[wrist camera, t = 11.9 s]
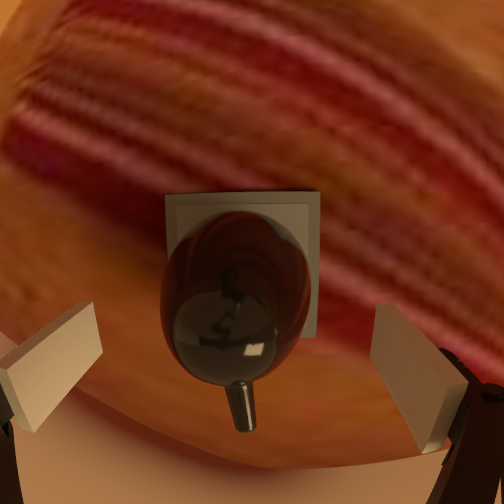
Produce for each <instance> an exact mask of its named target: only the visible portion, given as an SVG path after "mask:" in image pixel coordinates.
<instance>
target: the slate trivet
mask: <svg viewBox="0 0 504 504" xmlns="http://www.w3.org/2000/svg"><path fill="white" fill-rule="evenodd" d="M230 210H248V211H254V212H258V213H262V214H264V215H267V216H269V217H271V218H273V219H275V220H277V221H278V222H280V223H281V224H282V225H284V226H285V227H286V228H287V229H288V230H289V231H290V232H291V233H292V234H293V235H294V236H295V237H296V239H297V240H298V242H299V243H300V245H301V247H302V248H303V250H304V253H305V255H306V257H307V260H308V264H309V268H310V274H311V300H310V307H309V312H308V316H307V319H306V322H305V325H304V328H303V330H302V333H301V335H300V337H299V338H312V337H316V326H317V307H318V285H319V252H320V192H223V193H195V194H173V195H165V213H166V234H167V252H168V261H169V258H170V256H171V254H172V252H173V251H174V249H175V247H176V245H177V244H178V242H179V241H180V240H181V238H182V237H183V236H184V235H185V234H186V233H187V232H188V231H189V230H190V229H191V228H192V227H193V226H194V225H196V224H197V223H198V222H200V221H202V220H203V219H205V218H207V217H209V216H211V215H214V214H217V213H220V212H224V211H230Z"/></svg>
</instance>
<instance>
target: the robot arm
mask: <svg viewBox="0 0 504 504" xmlns="http://www.w3.org/2000/svg"><path fill="white" fill-rule="evenodd" d="M102 353H103V351H102V346H101V342H100V337H99V332H98V327H97V322H96V317H95V312H94V306H93V302H84V301H80V302H78V303H77V304H75V305H74V306H73V307H71V308H70V309H68V310H67V311H66V312H64V313H63V314H61V315H60V316H59V317H57V318H56V319H54V320H53V321H52V322H50V323H49V324H47V325H46V326H45V327H43V328H42V329H41V330H39V331H38V332H37V333H35V334H34V335H33V336H31V337H30V338H28V339H27V340H26V341H24V342H23V343H22V344H20V345H19V346H18V347H17V348H16V349H14V350H13V351H11V352H10V353H9V354H7V355H6V356H5V357H3V358H2V359H1V360H0V504H24V503H23V498H22V493H21V488H20V482H19V476H18V469H17V462H16V455H15V446H14V434H13V427H12V424H11V422H10V419H11V418H12V417H13V416H15V418H16V420H17V422H18V424H19V426H20V427H21V428H23V429H26V430H28V431H30V432H33V433H34V432H35V431H36V430H37V428H39V426H40V425H41V424H42V423H43V421H44V420H45V419H46V418H47V417H48V415H49V414H50V413H51V412H52V411H53V409H54V408H55V407H56V406H57V405H58V404H59V402H60V401H61V400H62V399H63V398H64V396H65V395H66V394H67V393H68V392H69V391H70V389H71V388H72V387H73V386H74V385H75V384H76V382H77V381H78V380H79V379H80V378H81V377H82V376H83V374H84V373H85V372H86V371H87V370H88V369H89V368H90V366H91V365H92V364H93V363H94V362H95V361H96V360H97V359H98V357H99V356H100V355H101V354H102ZM370 359H371V360H372V362H373V364H374V366H375V367H376V369H377V371H378V373H379V375H380V376H381V378H382V380H383V382H384V383H385V385H386V387H387V389H388V391H389V393H390V394H391V396H392V398H393V400H394V402H395V404H396V405H397V407H398V409H399V411H400V413H401V415H402V417H403V419H404V420H405V422H406V424H407V426H408V428H409V430H410V432H411V434H412V436H413V438H414V439H415V441H416V443H417V445H418V447H419V449H420V451H421V453H422V454H424V453H427V452H431V451H435V450H439V449H442V446H443V444H444V442H445V440H446V438H447V436H448V437H449V439H450V440H451V442H452V445H451V447H450V449H449V451H448V453H447V455H446V457H445V459H444V461H443V463H442V465H443V467H442V469H441V472H440V474H439V476H438V479H437V481H436V483H435V486H434V488H433V490H432V492H431V494H430V497H429V499H428V501H427V503H426V504H494V502H495V498H496V494H497V490H498V486H499V481H500V478H501V497H502V504H504V388H503V387H502V386H499V385H496V384H491V383H486V384H482V383H481V381H480V380H479V379H478V378H477V377H476V376H475V375H474V374H473V373H472V372H471V371H470V370H469V369H468V368H467V367H465V365H464V364H463V363H462V362H460V360H459V359H458V358H457V357H456V356H455V355H454V354H453V353H452V352H450V351H448V350H446V349H444V348H439V349H438V348H437V347H436V346H435V345H434V344H433V343H432V342H431V341H430V340H429V339H428V338H427V337H426V336H425V335H424V334H423V333H422V332H421V331H420V330H419V329H418V328H417V327H416V326H415V325H414V324H413V323H412V322H411V321H410V320H409V319H408V318H407V317H406V316H405V315H404V314H403V313H402V312H401V311H400V310H399V309H398V308H397V307H396V306H395V305H394V304H393V303H392V302H390V303H377V306H376V315H375V323H374V330H373V337H372V344H371V351H370Z"/></svg>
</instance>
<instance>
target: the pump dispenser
mask: <svg viewBox="0 0 504 504" xmlns="http://www.w3.org/2000/svg"><path fill="white" fill-rule="evenodd" d="M310 300H311V274H310V268H309V264H308V260H307V257H306V255H305V253H304V250H303V248H302V247H301V245H300V243H299V242H298V240H297V239H296V237H295V236H294V235H293V234H292V233H291V232H290V231H289V230H288V229H287V228H286V227H285V226H284V225H282V224H281V223H280V222H278V221H277V220H275V219H273V218H271V217H269V216H267V215H264V214H262V213H258V212H254V211H248V210H230V211H224V212H220V213H217V214H214V215H211V216H209V217H207V218H205V219H203V220H202V221H200V222H198V223H197V224H196V225H194V226H193V227H192V228H191V229H190V230H189V231H188V232H187V233H186V234H185V235H184V236H183V237H182V238H181V240H180V241H179V242H178V244H177V245H176V247H175V249H174V251H173V252H172V254H171V256H170V258H169V261H168V263H167V266H166V269H165V272H164V276H163V280H162V286H161V295H160V319H161V325H162V330H163V334H164V337H165V340H166V343H167V345H168V347H169V349H170V351H171V353H172V354H173V356H174V357H175V359H176V360H177V362H178V363H179V364H180V365H181V366H182V367H183V368H184V369H185V370H186V371H187V372H188V373H189V374H191V375H192V376H193V377H195V378H197V379H199V380H201V381H203V382H206V383H209V384H213V385H218V386H224V387H225V391H226V395H227V398H228V402H229V406H230V410H231V413H232V417H233V421H234V424H235V428H236V430H237V431H238V432H241V433H248V432H251V431H253V430H255V428H256V426H257V424H256V413H255V402H254V391H253V382H254V381H255V380H258V379H261V378H263V377H265V376H267V375H268V374H270V373H271V372H272V371H274V370H275V369H276V368H277V367H278V366H279V365H280V364H281V363H282V362H283V361H284V360H285V359H286V358H287V356H288V355H289V354H290V353H291V351H292V350H293V348H294V346H295V345H296V343H297V341H298V339H299V337H300V335H301V333H302V330H303V328H304V325H305V322H306V319H307V316H308V312H309V307H310Z"/></svg>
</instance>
